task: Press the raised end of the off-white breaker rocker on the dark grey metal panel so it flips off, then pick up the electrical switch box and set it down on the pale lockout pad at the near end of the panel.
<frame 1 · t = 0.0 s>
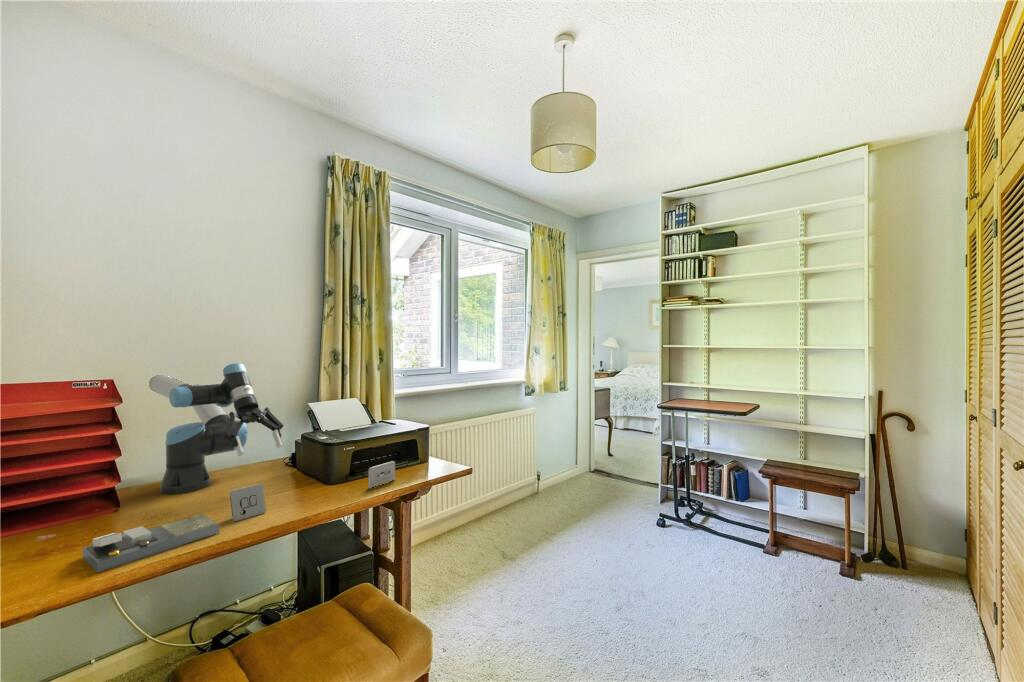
hand: (261, 450, 160), 15 cm above the table, tool tilted 35°, fingers open, 13 cm apart
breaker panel: (154, 544, 119), on the table
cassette: (382, 484, 168), on the table
breaker rocker: (107, 539, 111), point 5 cm above the table, hinge at -14.0°
electrical switch: (246, 516, 138), on the table
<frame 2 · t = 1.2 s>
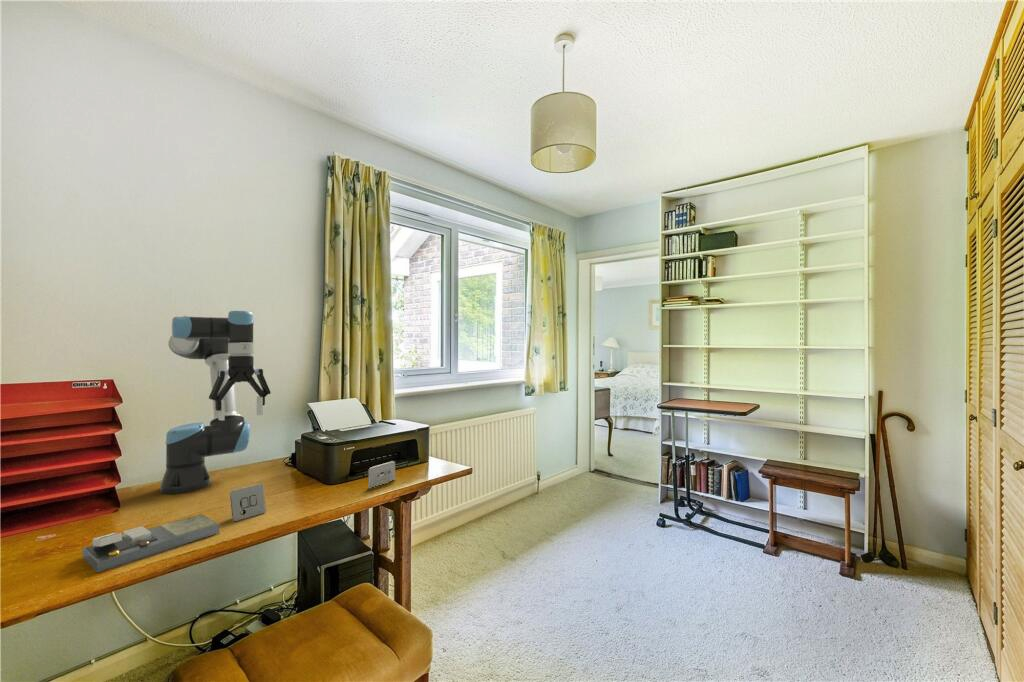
hand: (241, 417, 153), 28 cm above the table, tool pointing down, fingers open, 12 cm apart
nothing on the table moved.
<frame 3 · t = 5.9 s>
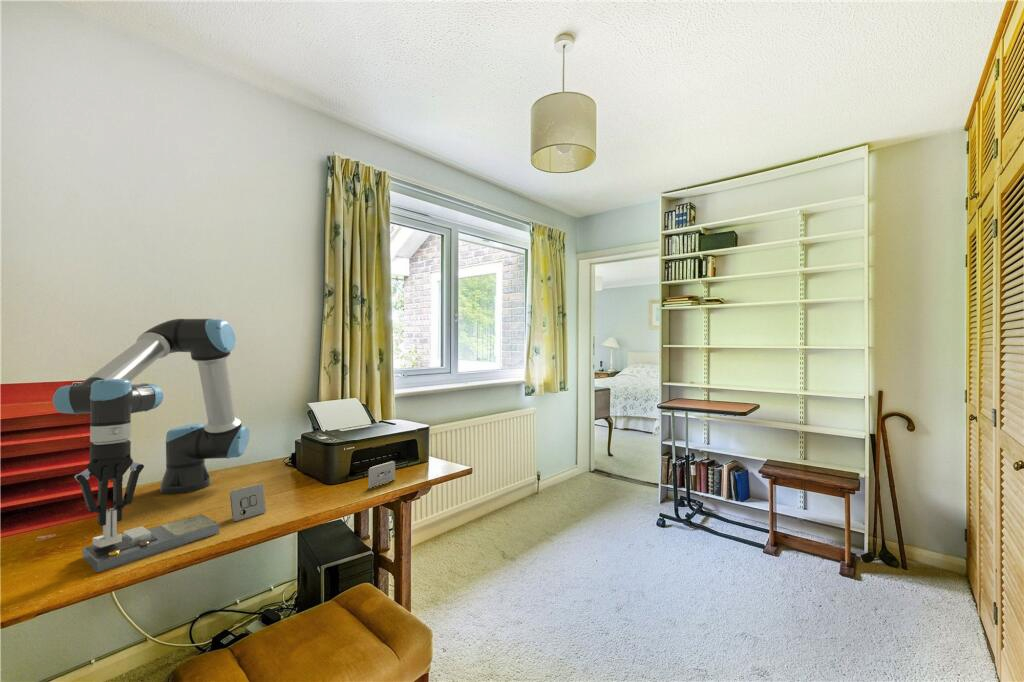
hand: (109, 536, 109), 6 cm above the table, tool pointing down, fingers closed, pressing on breaker rocker
breaker rocker: (107, 539, 111), point 5 cm above the table, hinge at -9.8°, touching gripper
everything else where it was.
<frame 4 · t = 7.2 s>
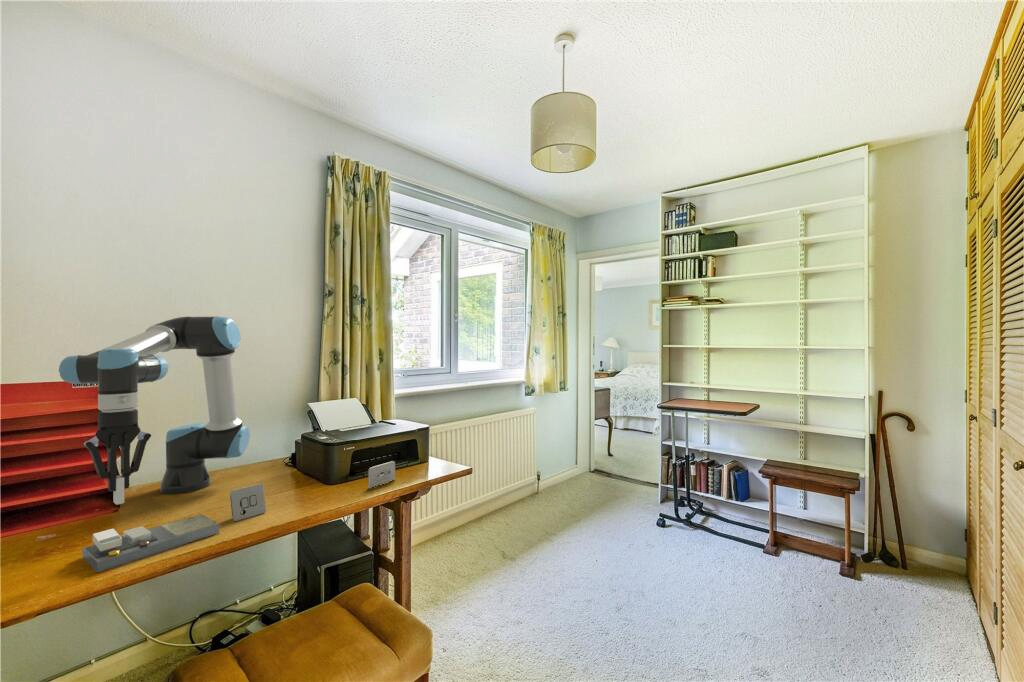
hand: (118, 502, 111), 14 cm above the table, tool pointing down, fingers closed
breaker rocker: (107, 539, 111), point 5 cm above the table, hinge at 7.3°
everything else where it was.
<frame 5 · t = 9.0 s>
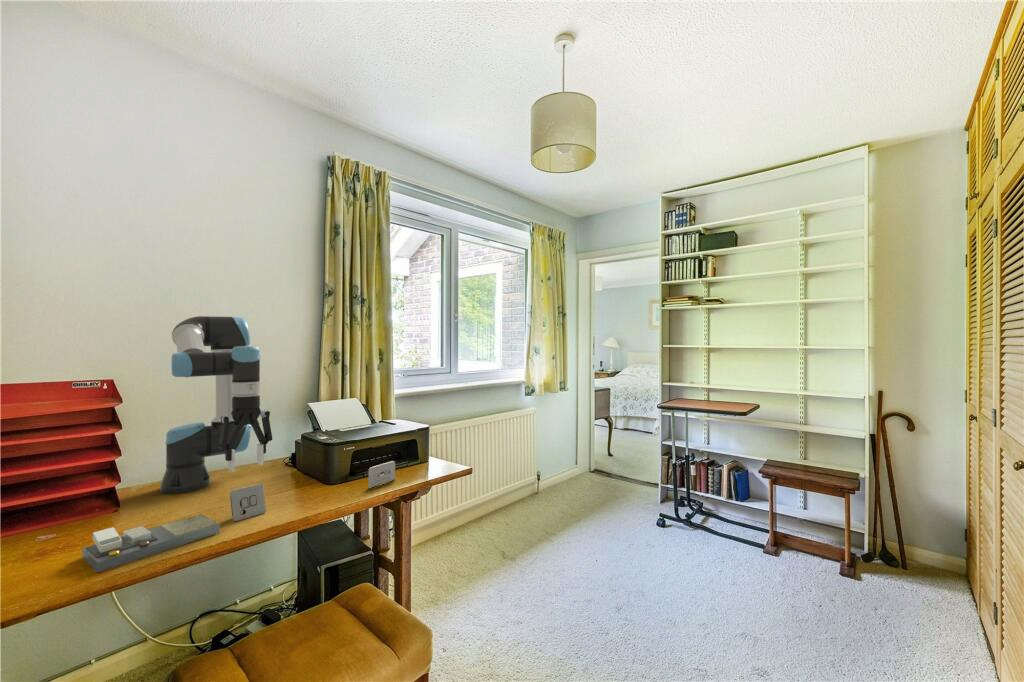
hand: (246, 467, 138), 15 cm above the table, tool pointing down, fingers open, 8 cm apart
breaker rocker: (107, 539, 111), point 5 cm above the table, hinge at 13.9°
everything else where it was.
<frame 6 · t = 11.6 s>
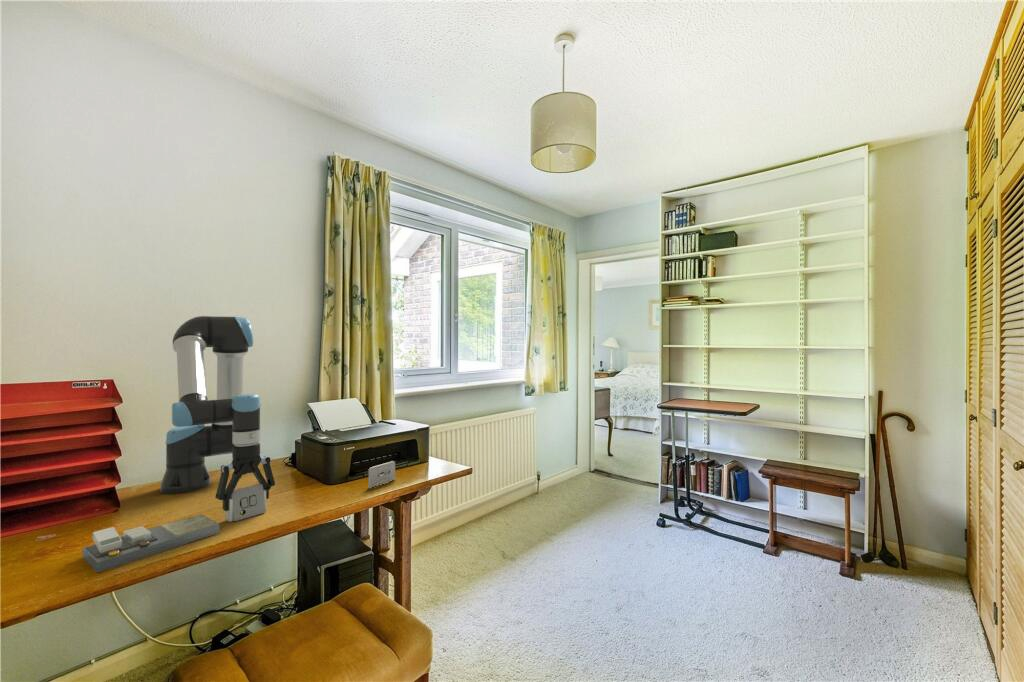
hand: (246, 514, 138), 0 cm above the table, tool pointing down, fingers closed on electrical switch, 9 cm apart
breaker rocker: (107, 539, 111), point 5 cm above the table, hinge at 15.8°
electrical switch: (246, 516, 138), on the table, touching gripper
everything else where it was.
when the fingers open (4 cm above the table, at t = 16.7 s): electrical switch stays where it is, resting on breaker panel.
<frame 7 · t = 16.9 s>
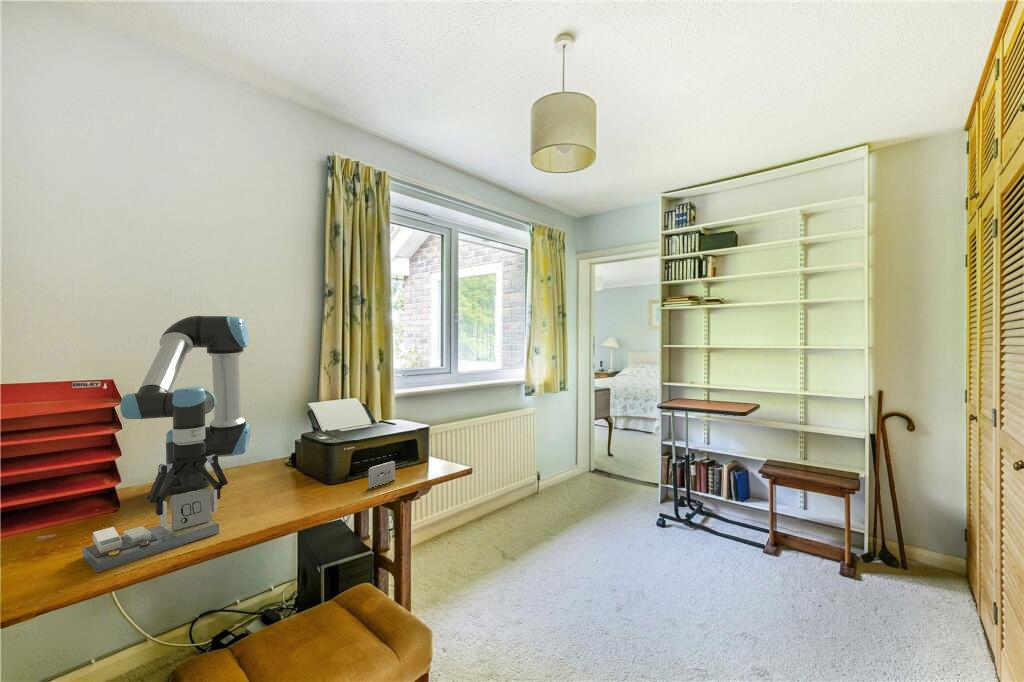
hand: (189, 518, 125), 4 cm above the table, tool pointing down, fingers open, 11 cm apart
electrical switch: (189, 524, 125), point 3 cm above the table, touching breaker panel
everything else where it was.
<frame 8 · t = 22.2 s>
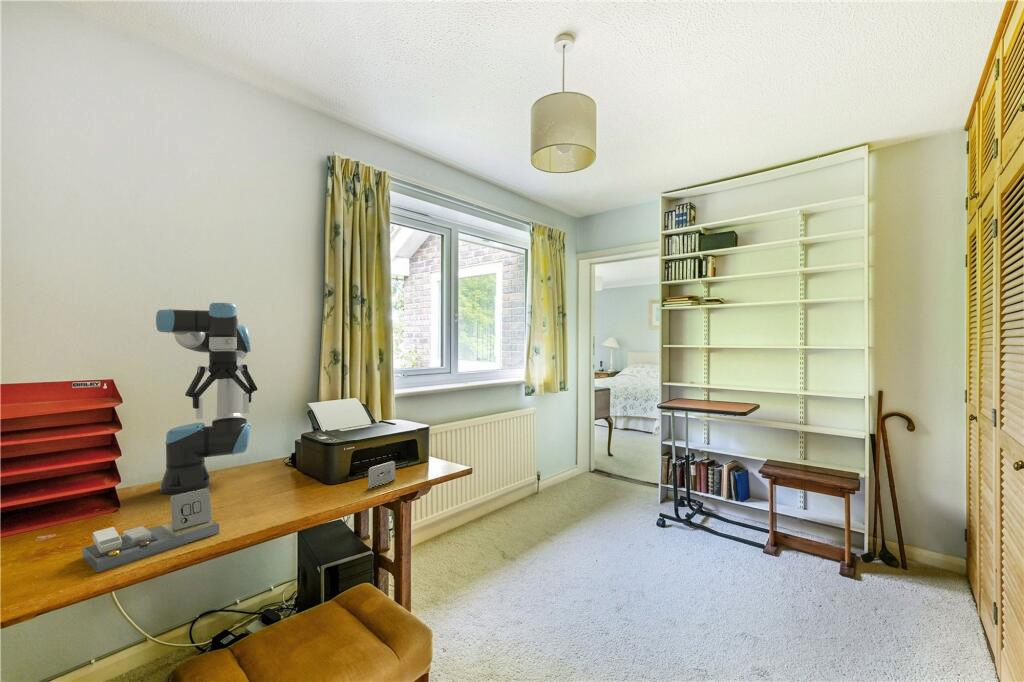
hand: (223, 415, 143), 31 cm above the table, tool pointing down, fingers open, 13 cm apart
nothing on the table moved.
at the end: breaker rocker at +16° (first picture: -14°); electrical switch inside the target area (0.1 cm from its centre), point 2.6 cm above the table; the gripper is holding nothing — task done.
